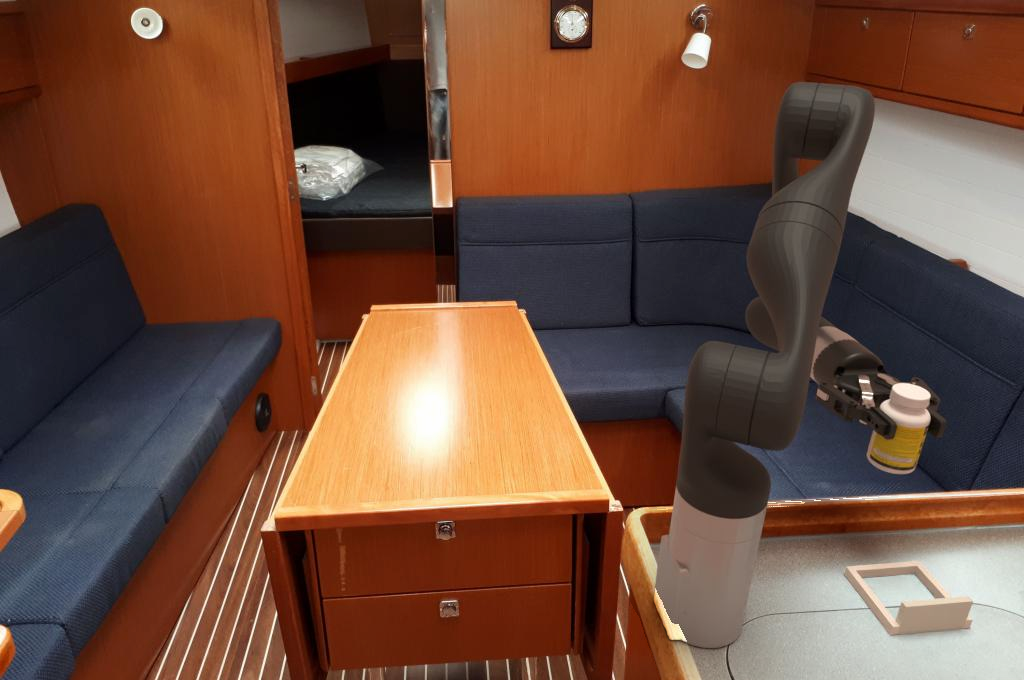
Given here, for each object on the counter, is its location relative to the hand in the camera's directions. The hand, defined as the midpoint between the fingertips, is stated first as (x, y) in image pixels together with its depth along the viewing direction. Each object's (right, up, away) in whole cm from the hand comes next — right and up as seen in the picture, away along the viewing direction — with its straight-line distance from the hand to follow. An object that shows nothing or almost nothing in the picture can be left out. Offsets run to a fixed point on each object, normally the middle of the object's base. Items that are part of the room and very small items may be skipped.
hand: (917, 431), depth 83 cm
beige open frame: (0, -20, +3) cm, 20 cm away
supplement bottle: (-1, -5, +5) cm, 7 cm away
